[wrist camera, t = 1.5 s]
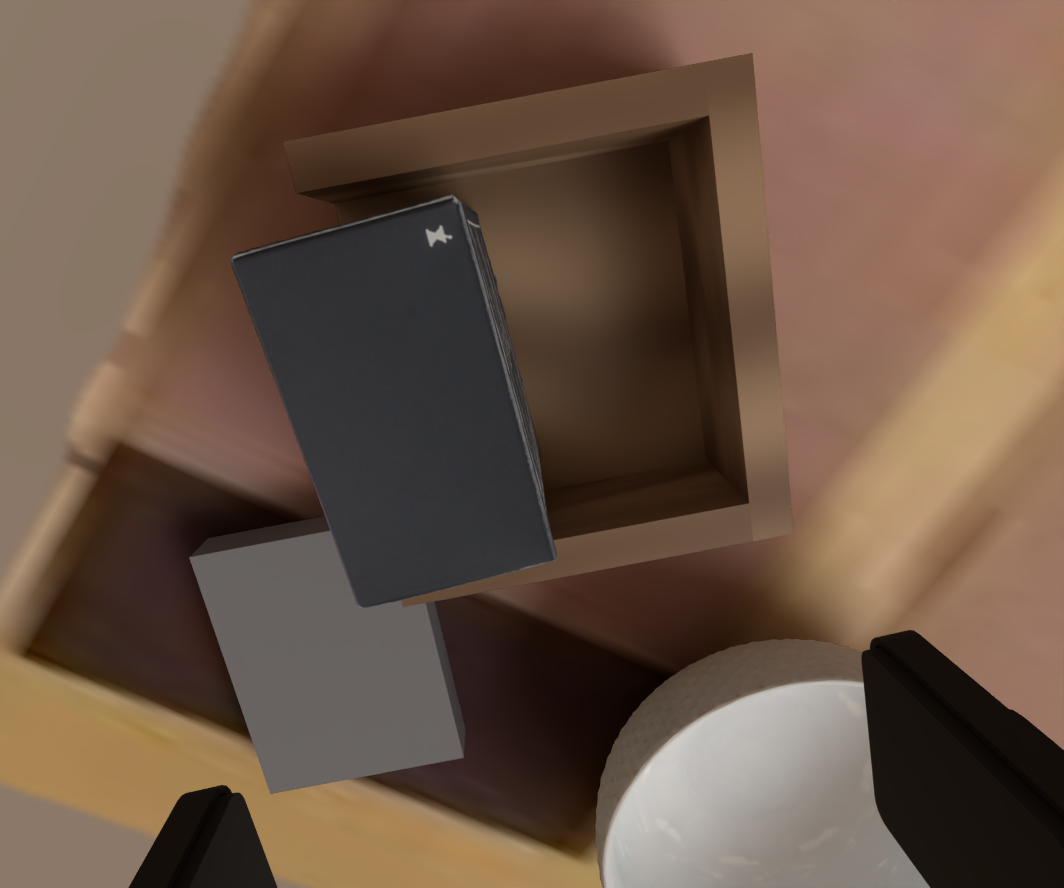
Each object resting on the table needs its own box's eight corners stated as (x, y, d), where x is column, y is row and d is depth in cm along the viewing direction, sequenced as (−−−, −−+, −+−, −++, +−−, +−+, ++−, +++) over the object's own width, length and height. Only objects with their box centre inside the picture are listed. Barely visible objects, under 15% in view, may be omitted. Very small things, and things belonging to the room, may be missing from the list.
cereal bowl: (532, 662, 34) (541, 767, 27) (867, 541, 33) (965, 618, 26) (642, 919, 38) (674, 1065, 31) (940, 819, 37) (1039, 946, 31)
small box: (314, 248, 28) (210, 249, 17) (476, 204, 27) (465, 179, 17) (397, 496, 30) (349, 620, 20) (544, 457, 30) (568, 562, 20)
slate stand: (208, 538, 31) (189, 557, 29) (409, 500, 31) (404, 516, 29) (283, 763, 34) (270, 793, 32) (465, 728, 34) (463, 757, 32)
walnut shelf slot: (327, 164, 27) (282, 141, 22) (698, 94, 27) (752, 52, 21) (419, 541, 32) (402, 607, 26) (739, 481, 32) (793, 533, 26)
